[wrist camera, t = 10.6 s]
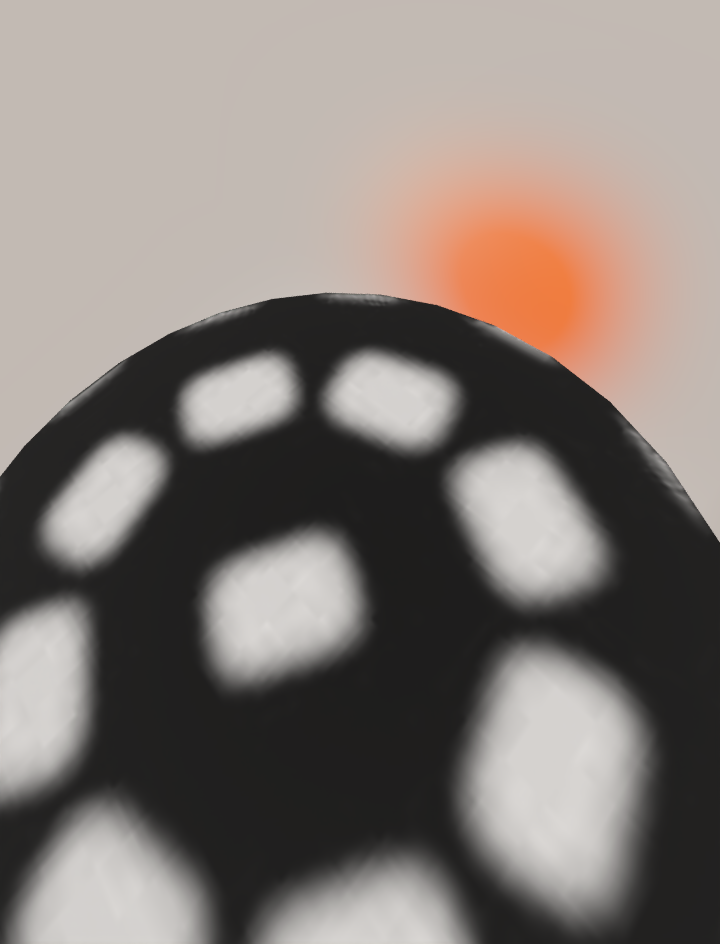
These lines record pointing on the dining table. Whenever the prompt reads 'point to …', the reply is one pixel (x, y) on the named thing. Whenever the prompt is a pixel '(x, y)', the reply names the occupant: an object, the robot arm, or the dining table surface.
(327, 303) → the white-spotted black cylinder
